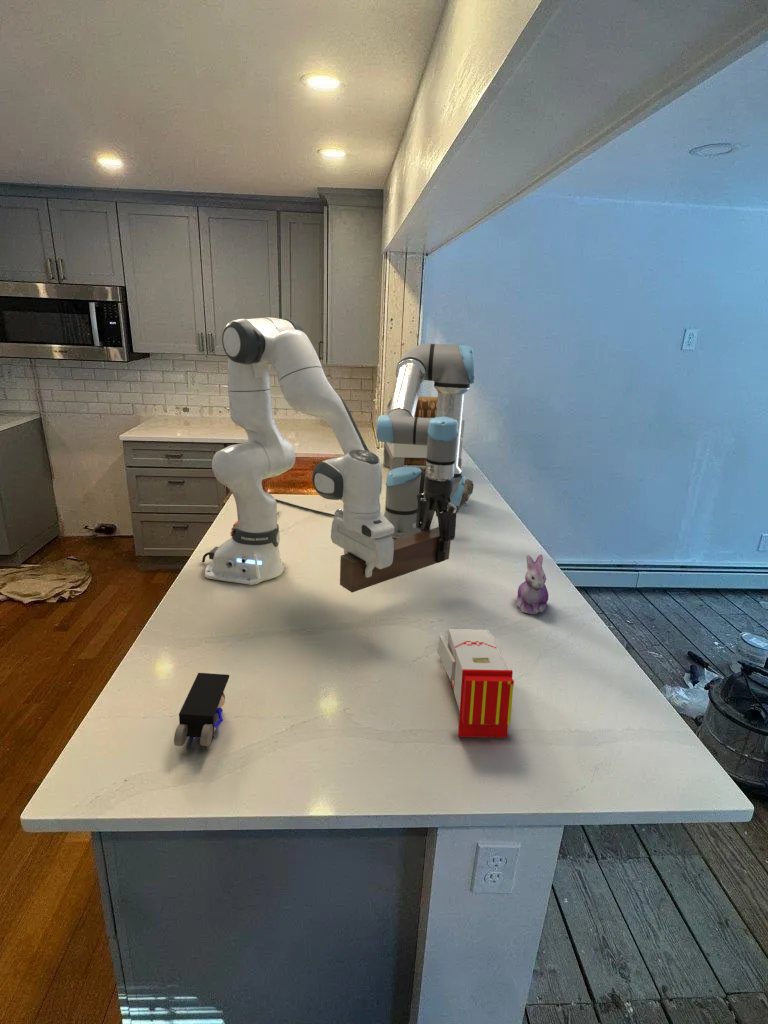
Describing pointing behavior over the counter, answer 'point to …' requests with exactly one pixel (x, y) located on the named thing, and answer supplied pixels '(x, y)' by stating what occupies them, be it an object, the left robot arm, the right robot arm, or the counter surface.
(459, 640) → the toy
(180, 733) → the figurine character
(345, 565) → the plank
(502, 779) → the counter surface
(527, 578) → the figurine
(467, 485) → the fossil
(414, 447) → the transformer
